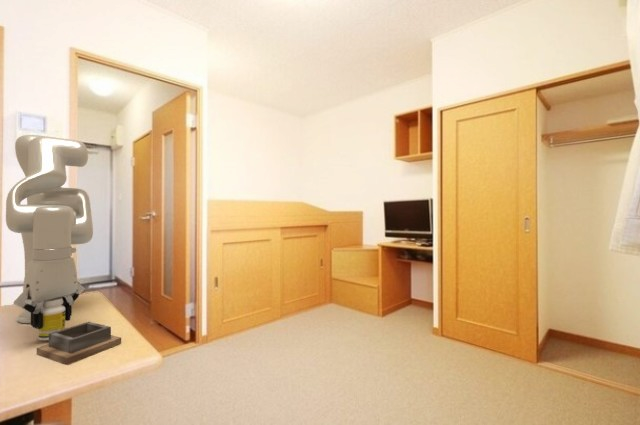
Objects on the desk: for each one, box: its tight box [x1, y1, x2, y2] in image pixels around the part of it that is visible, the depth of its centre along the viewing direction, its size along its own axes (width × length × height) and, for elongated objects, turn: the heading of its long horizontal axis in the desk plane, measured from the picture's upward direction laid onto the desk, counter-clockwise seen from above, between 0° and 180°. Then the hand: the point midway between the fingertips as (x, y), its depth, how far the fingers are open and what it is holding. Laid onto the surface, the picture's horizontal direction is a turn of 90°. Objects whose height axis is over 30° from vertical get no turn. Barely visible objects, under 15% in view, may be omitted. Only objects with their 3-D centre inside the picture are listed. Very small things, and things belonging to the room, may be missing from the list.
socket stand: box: [36, 321, 122, 366], centre depth 76 cm, size 12×12×4 cm
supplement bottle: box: [37, 297, 66, 341], centre depth 81 cm, size 5×5×10 cm
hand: (51, 323), depth 81 cm, fingers closed on supplement bottle, 5 cm apart
